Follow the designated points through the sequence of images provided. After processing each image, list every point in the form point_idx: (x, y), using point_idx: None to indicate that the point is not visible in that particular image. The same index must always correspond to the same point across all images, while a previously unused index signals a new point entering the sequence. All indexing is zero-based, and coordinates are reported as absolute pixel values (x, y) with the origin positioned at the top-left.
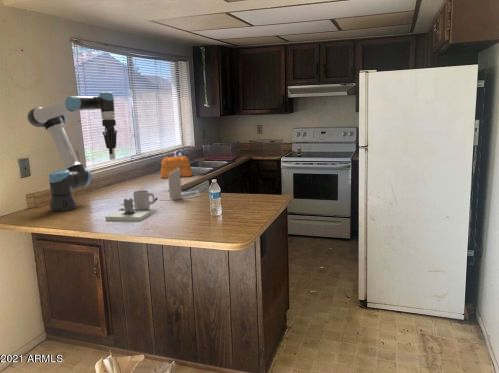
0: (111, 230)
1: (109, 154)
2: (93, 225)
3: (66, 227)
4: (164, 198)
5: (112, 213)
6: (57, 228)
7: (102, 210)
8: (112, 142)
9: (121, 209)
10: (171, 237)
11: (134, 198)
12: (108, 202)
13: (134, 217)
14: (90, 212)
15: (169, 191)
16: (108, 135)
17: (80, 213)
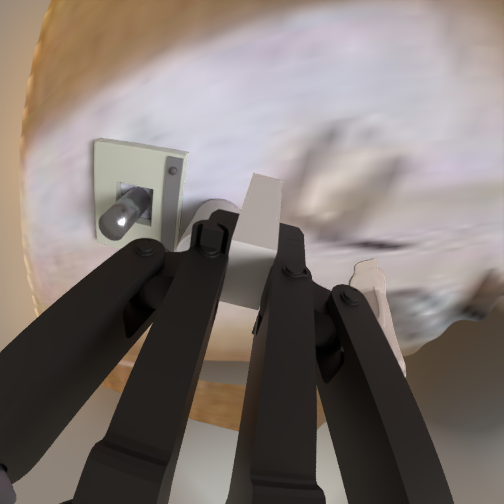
0: (36, 190)
1: (245, 197)
2: (59, 126)
3: (46, 60)
4: (376, 272)
5: (129, 149)
6: (41, 42)
7: (235, 70)
8: (250, 375)
9: (168, 168)
10: (38, 298)
11: (190, 225)
12: (386, 64)
13: (96, 228)
14: (208, 34)
15: (378, 303)
16: (30, 464)
17: (198, 3)
